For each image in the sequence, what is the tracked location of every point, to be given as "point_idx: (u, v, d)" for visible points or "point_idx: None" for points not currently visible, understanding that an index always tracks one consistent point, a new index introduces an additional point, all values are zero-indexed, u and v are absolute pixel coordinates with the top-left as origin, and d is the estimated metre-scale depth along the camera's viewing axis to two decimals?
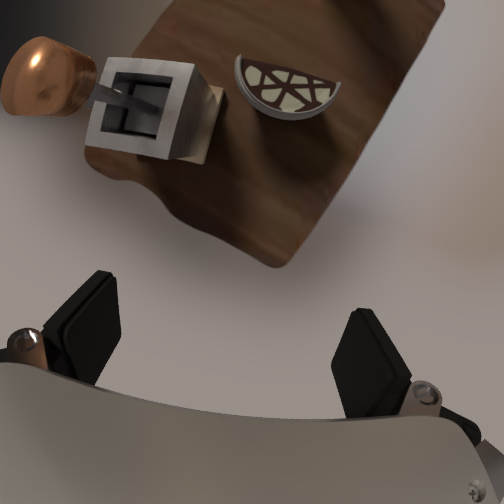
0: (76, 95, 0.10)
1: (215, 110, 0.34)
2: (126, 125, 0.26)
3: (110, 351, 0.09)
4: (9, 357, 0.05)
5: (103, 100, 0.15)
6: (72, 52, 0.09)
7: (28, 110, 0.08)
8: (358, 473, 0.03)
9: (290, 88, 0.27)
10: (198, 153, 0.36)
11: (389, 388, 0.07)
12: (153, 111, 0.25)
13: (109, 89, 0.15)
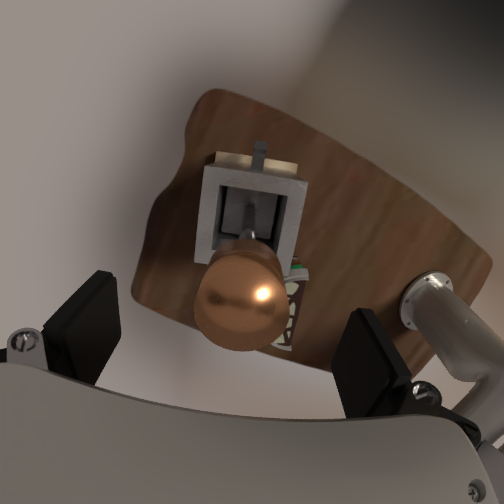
0: None
1: None
2: None
3: (110, 351, 0.09)
4: (9, 357, 0.05)
5: None
6: None
7: (197, 325, 0.12)
8: (359, 472, 0.03)
9: None
10: None
11: (389, 388, 0.07)
12: None
13: None
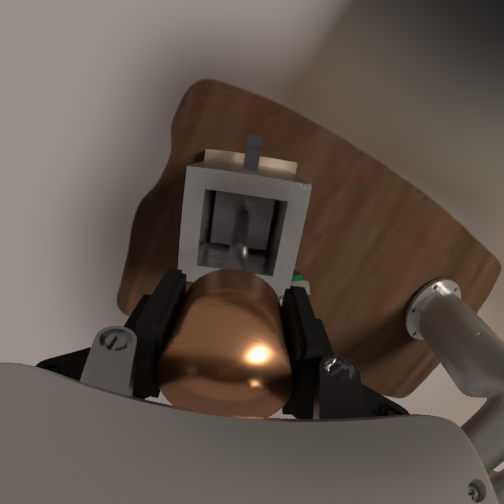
0: None
1: None
2: None
3: None
4: (93, 351, 0.06)
5: None
6: None
7: (165, 395, 0.08)
8: (359, 472, 0.03)
9: None
10: None
11: (303, 360, 0.08)
12: None
13: None
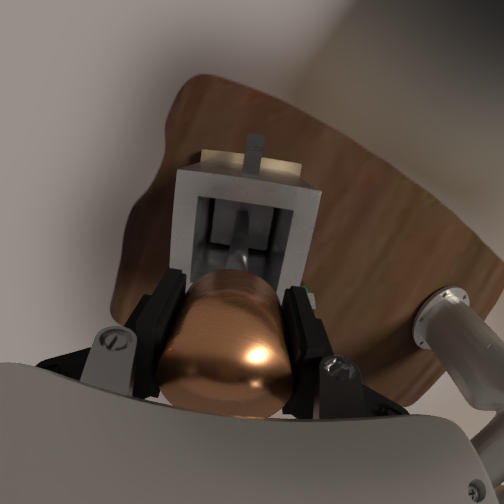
0: None
1: None
2: None
3: None
4: (93, 351, 0.06)
5: None
6: None
7: (166, 395, 0.08)
8: (359, 472, 0.03)
9: None
10: None
11: (303, 360, 0.08)
12: None
13: None
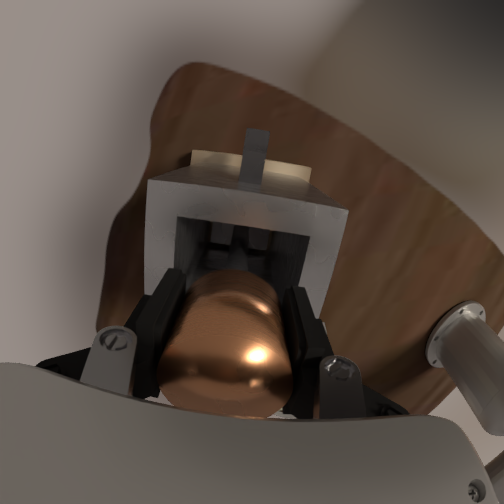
0: None
1: None
2: None
3: None
4: (93, 351, 0.06)
5: None
6: None
7: (165, 395, 0.08)
8: (359, 472, 0.03)
9: None
10: None
11: (303, 360, 0.08)
12: None
13: None
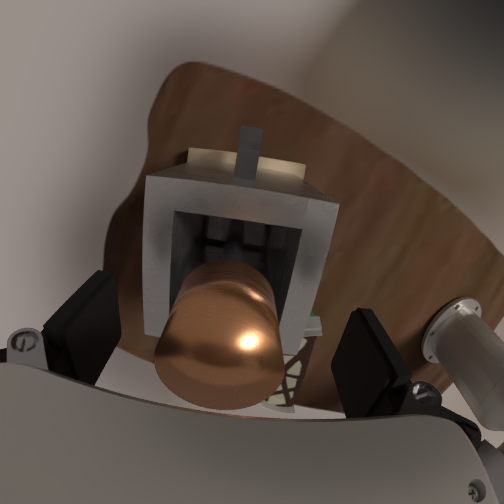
0: None
1: None
2: None
3: (110, 351, 0.09)
4: (9, 357, 0.05)
5: None
6: None
7: (162, 380, 0.08)
8: (358, 473, 0.03)
9: None
10: None
11: (389, 388, 0.07)
12: None
13: None
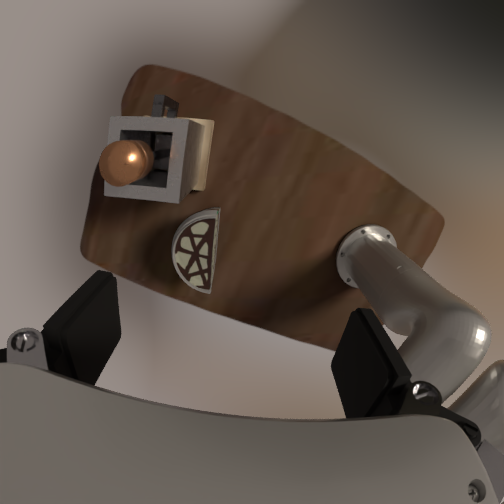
0: None
1: None
2: (159, 135, 0.38)
3: (110, 351, 0.09)
4: (9, 357, 0.05)
5: None
6: (138, 178, 0.23)
7: (101, 173, 0.21)
8: (359, 472, 0.03)
9: (195, 257, 0.39)
10: None
11: (389, 388, 0.07)
12: (168, 156, 0.39)
13: None
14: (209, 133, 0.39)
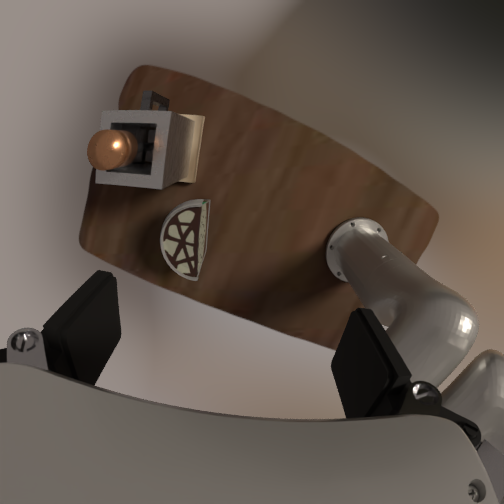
0: None
1: None
2: (151, 130, 0.40)
3: (110, 351, 0.09)
4: (9, 357, 0.05)
5: None
6: (122, 163, 0.25)
7: None
8: (358, 473, 0.03)
9: (182, 245, 0.40)
10: None
11: (389, 388, 0.07)
12: None
13: (138, 151, 0.31)
14: (199, 128, 0.41)
